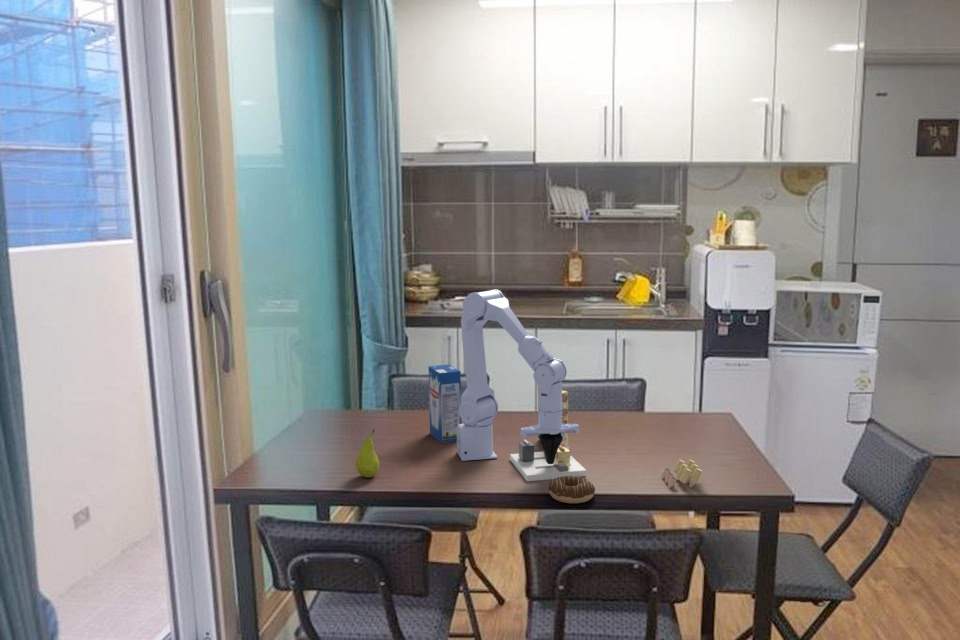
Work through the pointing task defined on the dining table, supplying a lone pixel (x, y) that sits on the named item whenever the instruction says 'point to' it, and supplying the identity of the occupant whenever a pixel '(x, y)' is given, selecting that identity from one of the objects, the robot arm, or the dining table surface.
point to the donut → (571, 489)
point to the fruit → (367, 459)
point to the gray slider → (526, 451)
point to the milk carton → (444, 402)
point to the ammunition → (683, 473)
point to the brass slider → (562, 456)
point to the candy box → (564, 414)
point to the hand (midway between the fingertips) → (549, 462)
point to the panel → (546, 467)
